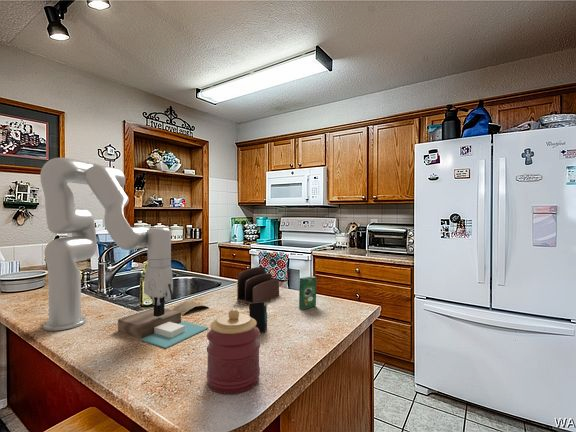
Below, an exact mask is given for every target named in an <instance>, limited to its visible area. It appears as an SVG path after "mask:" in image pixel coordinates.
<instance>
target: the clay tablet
mask: <svg viewBox="0 0 576 432" xmlns="http://www.w3.org/2000/svg"><path fill="white" fill-rule="evenodd" d="M195 307H205V305H203V304H201V303H199V302H196V301H184V302H181V303H178V304H177V305H175V306H174V307H173V308H172V309H171V310H174V311H178V312H181V317H182V316H184V314H185V313H187V312H189V311H190V310H192V309H194V308H195ZM207 308H208V309H210V307H208V306H207Z"/></svg>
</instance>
